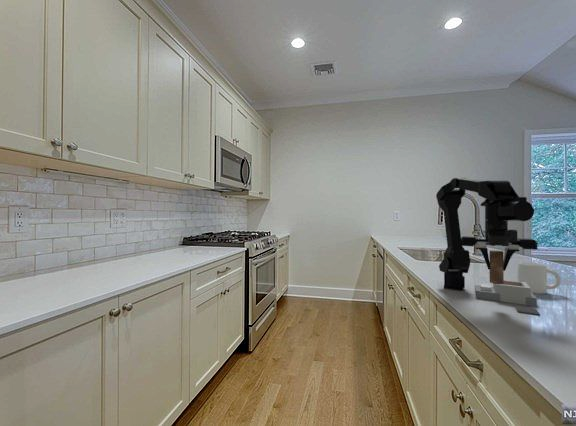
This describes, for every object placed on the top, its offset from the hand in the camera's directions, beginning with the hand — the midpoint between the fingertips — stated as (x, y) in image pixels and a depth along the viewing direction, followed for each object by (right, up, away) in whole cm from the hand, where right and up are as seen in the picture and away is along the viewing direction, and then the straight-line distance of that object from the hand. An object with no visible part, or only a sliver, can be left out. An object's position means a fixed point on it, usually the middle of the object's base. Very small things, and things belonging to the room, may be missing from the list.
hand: (496, 269), depth 87 cm
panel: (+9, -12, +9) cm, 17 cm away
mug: (+28, -12, +16) cm, 34 cm away
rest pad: (+6, -12, -4) cm, 14 cm away
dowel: (0, -4, 0) cm, 4 cm away
